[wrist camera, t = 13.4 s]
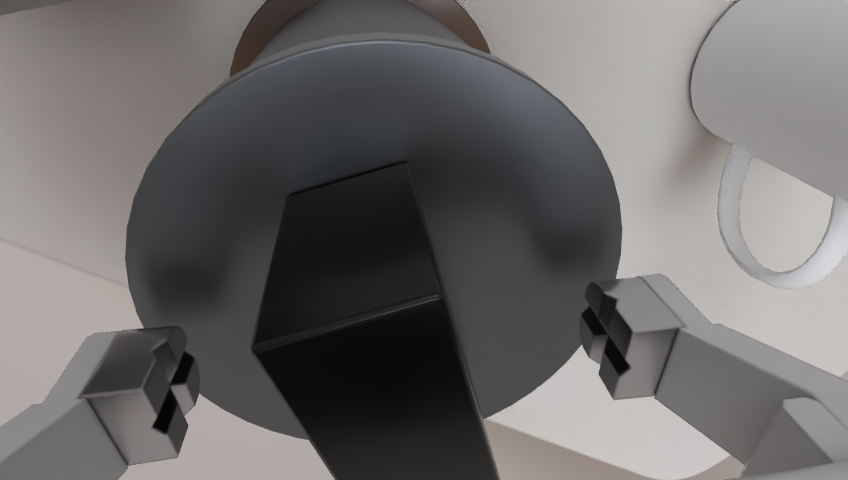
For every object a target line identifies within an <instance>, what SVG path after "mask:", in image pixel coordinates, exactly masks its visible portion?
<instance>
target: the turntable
mask: <svg viewBox="0 0 848 480" xmlns="http://www.w3.org/2000/svg"><path fill="white" fill-rule="evenodd" d="M318 1H320V0H267V1H266V2H265V3H264V4H263V5H262V6H261V8H260V9H259V10H258V11H257V12H256V13H255V15H254V16H253V17H252V19H251V21H250V22H249V24H248V25H247V27H246V29H245V30H244V32H243V34H242V36H241V39H240V41H239V43H238V46H237V48H236V51H235V55H234V58H233V62H232V66H231V71H230V77H231V76H233V75H235V74H237V73H239V72H240V71H242V70H244V69H246V68H248V67H249V66H250V65H251V64H252V63H253V61H254V60H255V59H256V58H257V56H258V55H259V54H260V53H261V51H262V50H263V49H264V48H265V46H266V45H267V44H268V43H269V41H270V40H271V39H272V38H273V36H274V35H275V34H276V33H277V32H278V31H279V29H280V28H281V27H282V26H283V25H284V24H285V23H286V22H287V21H288V20H289V19H291V18H292V17H293V16H294V15H296V14H297V13H298V12H299V11H301V10H303V9H304V8H306V7H308V6H310V5H311V4H313V3H315V2H318ZM407 1H409V2H412V3H414V4H415V5H417V6H419V7H421V8H423V9H425V10H426V11H428V12H429V13H430V14H432V15H433V16H434V17H436V18H437V19H438V20H440V21H441V22H442V23H443V24H444V25H445V26H447V27H448V28H449V29H450V30H451V31H453V32H454V33H455V34H456V35H457V36H458V37H460V38H461V39H462V40H463V41H464V42H465V43H467V44H468V45H469V46H470V47H472V48H474V49H477V50H480V51H483V52H485V53H488V54H491V53H490V50H489V48H488V45H487V43H486V40H485V39H484V37H483V35H482V33H481V32H480V30H479V28H478V26H477V25H476V23H475V22H474V21H473V19H472V18H471V17H470V15H469V14H468V13H467V12H466V10H465V9H464V8H463V7H462V6H461V5H460V4H459V3H458V2H457V1H456V0H407Z"/></svg>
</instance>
